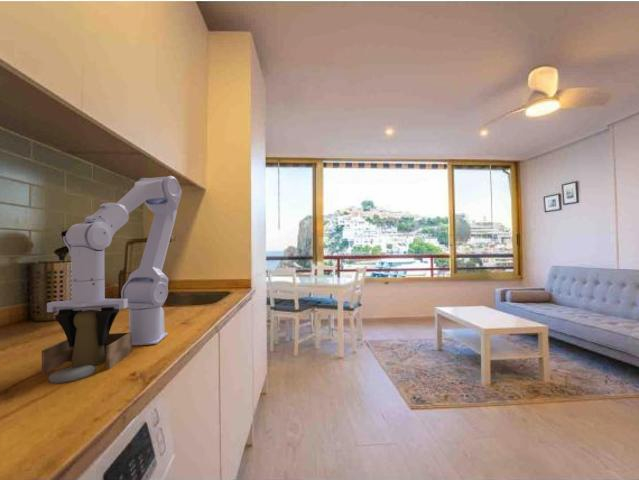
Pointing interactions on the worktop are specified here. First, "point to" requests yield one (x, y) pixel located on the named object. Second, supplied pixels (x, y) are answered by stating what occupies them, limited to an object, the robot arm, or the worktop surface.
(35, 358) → the worktop surface
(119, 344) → the open wooden enclosure
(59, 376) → the coaster
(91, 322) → the pepper mill
